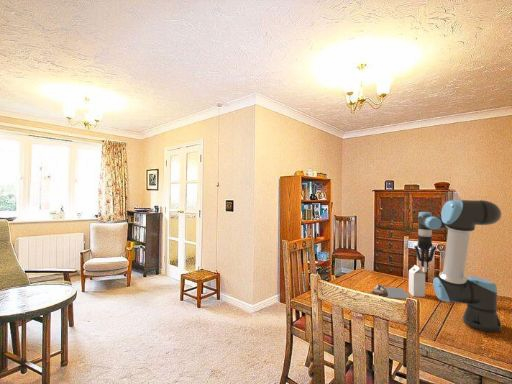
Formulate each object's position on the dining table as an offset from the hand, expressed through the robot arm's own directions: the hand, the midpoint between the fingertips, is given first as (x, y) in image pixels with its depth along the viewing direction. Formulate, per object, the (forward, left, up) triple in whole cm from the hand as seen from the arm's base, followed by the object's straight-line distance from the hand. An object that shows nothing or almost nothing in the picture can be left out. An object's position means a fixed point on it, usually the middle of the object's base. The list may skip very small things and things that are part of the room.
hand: (424, 271), depth 178 cm
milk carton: (0, +5, -16) cm, 16 cm away
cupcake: (-18, +32, -16) cm, 40 cm away
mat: (0, +19, -16) cm, 24 cm away
